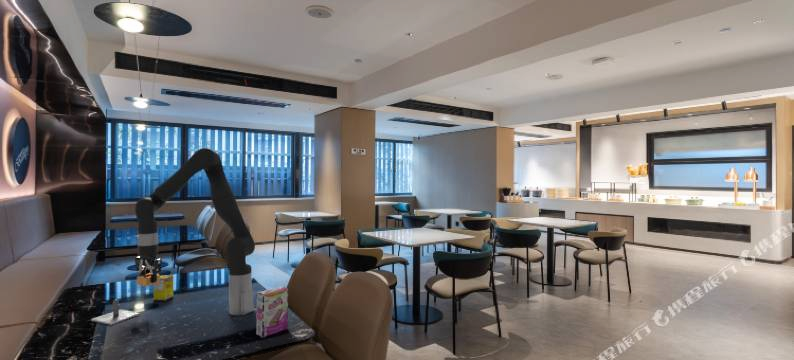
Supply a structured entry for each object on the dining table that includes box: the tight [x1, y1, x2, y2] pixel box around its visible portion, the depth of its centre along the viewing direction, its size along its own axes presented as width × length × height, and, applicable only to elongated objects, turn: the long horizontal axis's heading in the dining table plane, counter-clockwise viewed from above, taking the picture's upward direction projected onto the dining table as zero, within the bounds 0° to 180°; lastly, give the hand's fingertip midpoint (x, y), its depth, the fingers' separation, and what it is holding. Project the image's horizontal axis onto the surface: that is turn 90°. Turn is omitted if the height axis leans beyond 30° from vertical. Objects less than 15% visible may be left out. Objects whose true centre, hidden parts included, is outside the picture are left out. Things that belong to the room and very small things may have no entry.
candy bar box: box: [255, 285, 289, 339], centre depth 149 cm, size 11×5×16 cm, turn 141°
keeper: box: [90, 299, 141, 326], centre depth 162 cm, size 12×12×8 cm
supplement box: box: [153, 274, 174, 302], centre depth 186 cm, size 6×6×11 cm
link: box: [136, 272, 161, 287], centre depth 169 cm, size 6×6×4 cm
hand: (148, 281), depth 169 cm, fingers closed on link, 6 cm apart
